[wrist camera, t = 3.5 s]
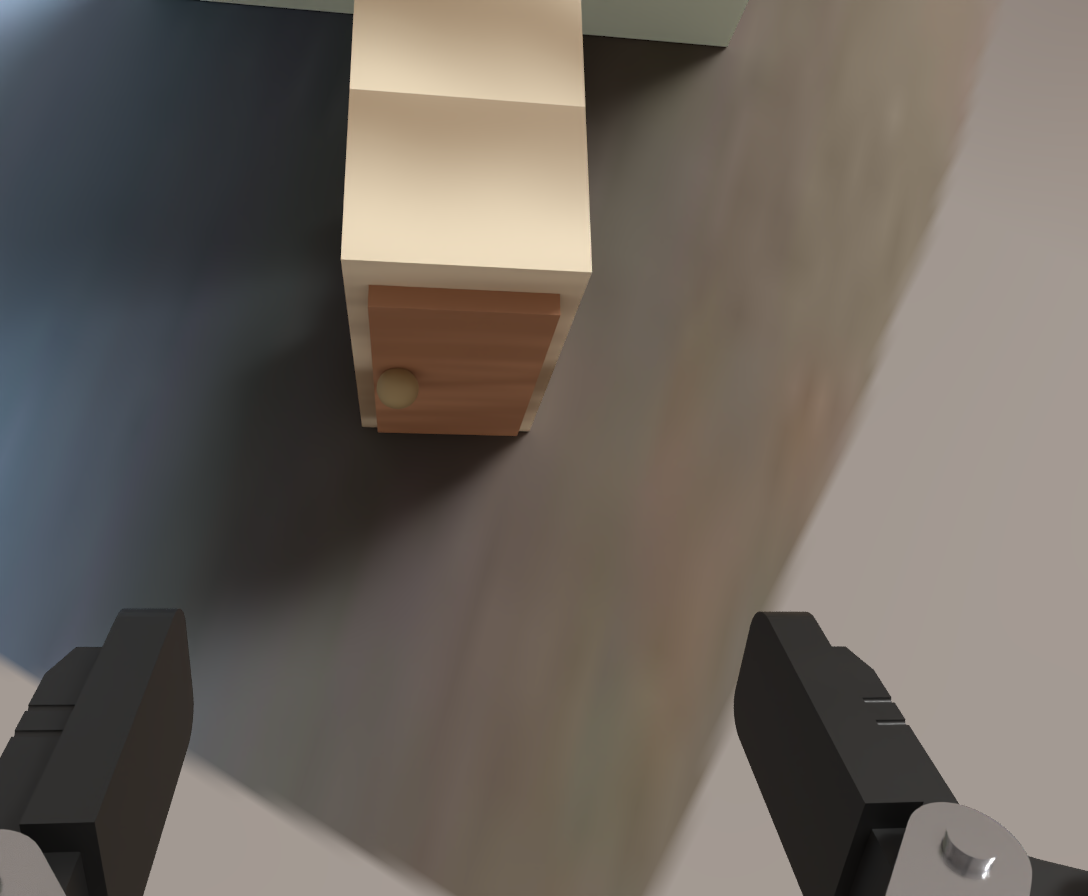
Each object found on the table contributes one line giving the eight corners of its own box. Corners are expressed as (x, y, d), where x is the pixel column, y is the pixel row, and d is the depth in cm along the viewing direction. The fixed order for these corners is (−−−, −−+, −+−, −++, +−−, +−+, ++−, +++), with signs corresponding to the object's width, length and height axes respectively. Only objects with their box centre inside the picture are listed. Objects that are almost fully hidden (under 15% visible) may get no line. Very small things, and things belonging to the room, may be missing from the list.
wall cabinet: (530, 475, 28) (594, 335, 19) (360, 471, 27) (337, 324, 18) (525, 215, 31) (580, -22, 21) (371, 206, 30) (356, -44, 21)
